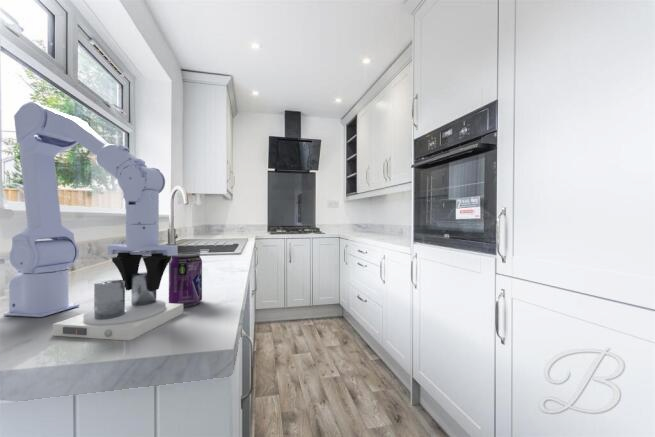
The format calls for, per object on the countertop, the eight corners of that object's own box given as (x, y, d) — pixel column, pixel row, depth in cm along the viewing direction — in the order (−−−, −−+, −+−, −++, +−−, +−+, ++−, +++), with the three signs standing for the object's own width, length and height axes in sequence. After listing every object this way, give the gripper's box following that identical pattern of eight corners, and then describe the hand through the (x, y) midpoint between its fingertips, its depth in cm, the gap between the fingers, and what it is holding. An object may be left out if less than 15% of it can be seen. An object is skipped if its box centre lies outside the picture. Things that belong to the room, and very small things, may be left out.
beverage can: (188, 309, 64) (188, 256, 64) (161, 307, 65) (161, 255, 65) (208, 300, 71) (208, 252, 71) (183, 299, 72) (183, 251, 72)
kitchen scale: (50, 336, 49) (50, 320, 49) (121, 309, 64) (121, 297, 64) (128, 341, 47) (128, 324, 47) (183, 313, 62) (183, 300, 62)
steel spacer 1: (87, 319, 50) (87, 284, 50) (109, 311, 54) (110, 279, 54) (109, 320, 49) (110, 285, 49) (130, 312, 54) (130, 279, 54)
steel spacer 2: (126, 305, 58) (126, 275, 58) (140, 299, 62) (140, 271, 62) (147, 305, 58) (147, 275, 58) (160, 299, 62) (160, 271, 62)
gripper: (186, 224, 62) (186, 286, 62) (127, 223, 64) (127, 284, 64) (164, 224, 55) (164, 294, 55) (98, 224, 57) (98, 292, 57)
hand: (142, 289), depth 59 cm, fingers open, 5 cm apart
